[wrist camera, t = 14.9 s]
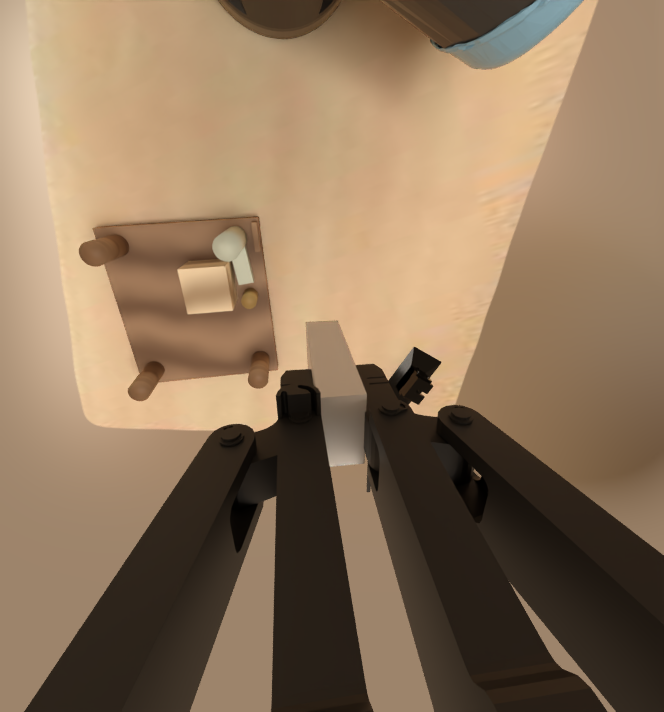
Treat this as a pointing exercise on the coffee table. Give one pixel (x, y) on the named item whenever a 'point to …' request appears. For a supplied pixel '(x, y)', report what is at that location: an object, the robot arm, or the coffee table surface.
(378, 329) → the coffee table surface
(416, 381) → the black bracket plate
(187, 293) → the maple block
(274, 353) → the stool board
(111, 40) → the coffee table surface
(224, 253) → the gate leg
